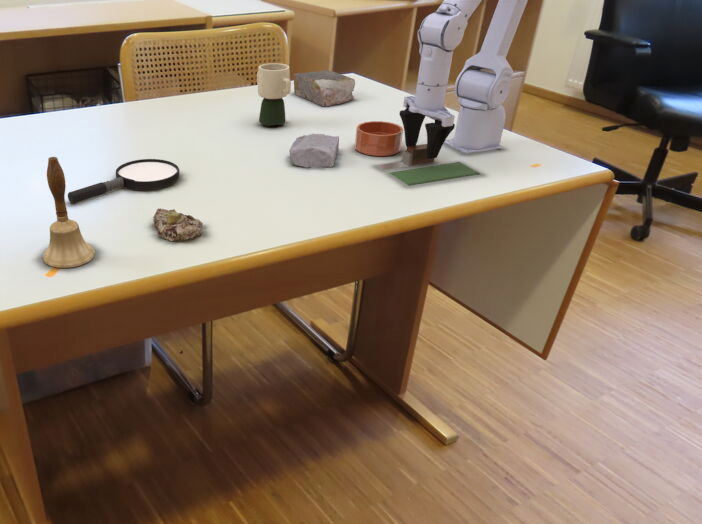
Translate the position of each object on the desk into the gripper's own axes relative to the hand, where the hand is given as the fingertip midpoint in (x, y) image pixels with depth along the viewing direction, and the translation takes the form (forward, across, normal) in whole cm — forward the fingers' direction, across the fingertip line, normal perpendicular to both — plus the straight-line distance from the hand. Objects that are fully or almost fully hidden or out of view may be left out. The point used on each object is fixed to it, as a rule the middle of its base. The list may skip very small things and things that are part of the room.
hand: (421, 151), depth 140 cm
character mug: (+2, -34, -18) cm, 39 cm away
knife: (+2, 0, -3) cm, 4 cm away
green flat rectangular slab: (+2, +7, -1) cm, 7 cm away
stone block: (+2, -10, -19) cm, 22 cm away
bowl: (+2, -10, -4) cm, 11 cm away
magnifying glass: (+2, -10, -60) cm, 61 cm away
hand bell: (+2, +16, -75) cm, 77 cm away
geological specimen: (+3, -50, +4) cm, 51 cm away
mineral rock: (+2, +12, -56) cm, 58 cm away
